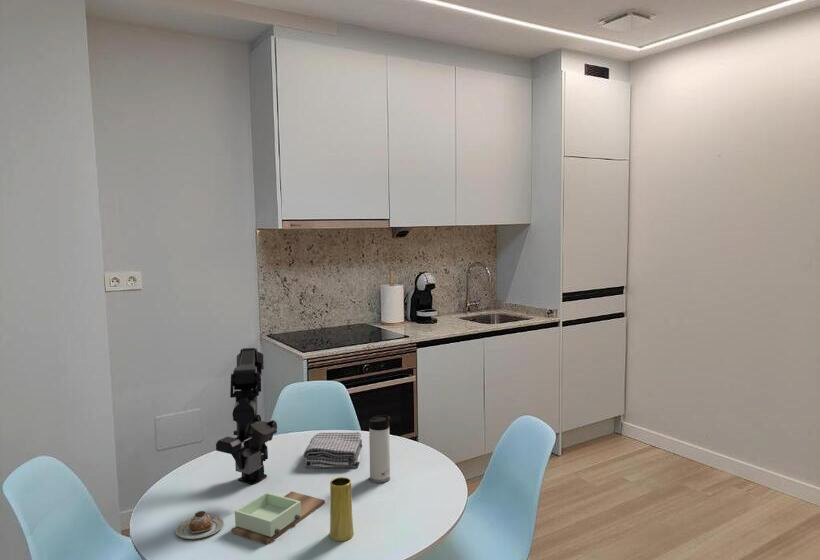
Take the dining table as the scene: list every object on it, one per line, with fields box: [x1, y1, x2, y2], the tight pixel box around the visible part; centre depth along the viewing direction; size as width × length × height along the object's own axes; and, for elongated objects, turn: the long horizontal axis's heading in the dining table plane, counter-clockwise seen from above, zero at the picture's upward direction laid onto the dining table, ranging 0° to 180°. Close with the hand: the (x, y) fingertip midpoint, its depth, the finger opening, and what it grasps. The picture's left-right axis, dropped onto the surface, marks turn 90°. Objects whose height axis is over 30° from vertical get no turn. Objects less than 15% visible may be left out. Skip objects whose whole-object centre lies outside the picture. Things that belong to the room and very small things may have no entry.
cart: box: [234, 492, 301, 537], centre depth 153 cm, size 14×12×4 cm
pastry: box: [175, 510, 225, 541], centre depth 152 cm, size 12×12×5 cm
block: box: [234, 448, 261, 474], centre depth 165 cm, size 5×5×5 cm
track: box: [231, 491, 326, 545], centre depth 157 cm, size 12×24×1 cm, turn 152°
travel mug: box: [368, 414, 391, 484], centre depth 180 cm, size 6×7×20 cm
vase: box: [329, 476, 355, 542], centre depth 147 cm, size 6×6×14 cm
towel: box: [303, 431, 364, 469], centre depth 196 cm, size 15×18×8 cm
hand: (248, 465), depth 165 cm, fingers closed on block, 5 cm apart
